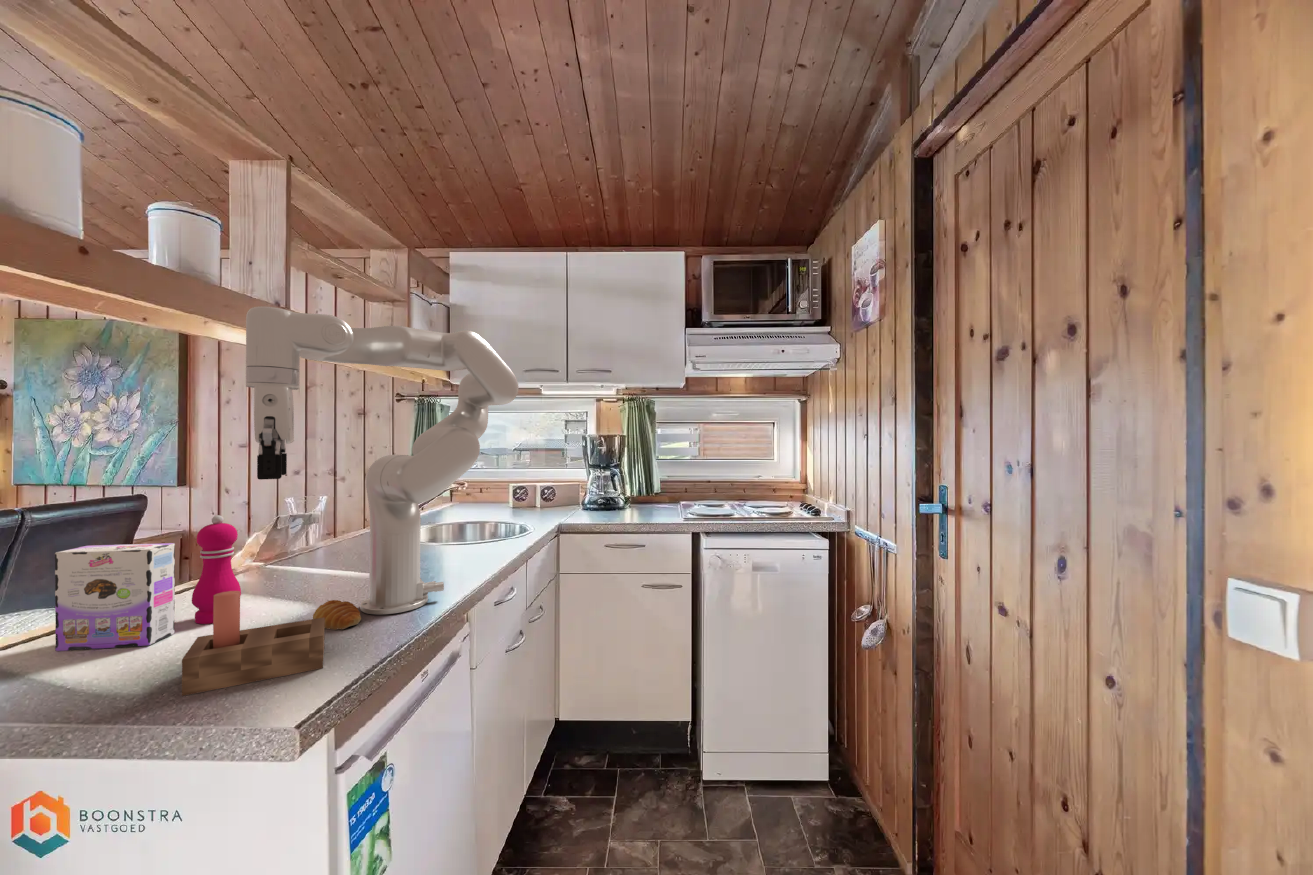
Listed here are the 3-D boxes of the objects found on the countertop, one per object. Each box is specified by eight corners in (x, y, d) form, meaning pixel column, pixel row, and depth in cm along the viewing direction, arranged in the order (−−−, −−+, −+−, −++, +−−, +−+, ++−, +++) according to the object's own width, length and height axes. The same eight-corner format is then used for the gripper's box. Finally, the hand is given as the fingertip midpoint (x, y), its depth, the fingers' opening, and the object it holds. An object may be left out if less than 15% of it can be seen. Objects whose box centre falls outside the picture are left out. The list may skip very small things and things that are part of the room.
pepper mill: (250, 612, 100) (251, 512, 100) (215, 626, 93) (216, 518, 93) (217, 611, 101) (218, 512, 101) (180, 624, 94) (181, 517, 94)
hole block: (324, 647, 84) (324, 617, 84) (322, 668, 77) (323, 635, 77) (197, 669, 76) (197, 636, 76) (181, 696, 68) (182, 659, 68)
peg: (241, 655, 76) (241, 589, 76) (237, 662, 74) (238, 594, 74) (215, 659, 75) (215, 592, 75) (210, 667, 72) (211, 598, 72)
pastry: (371, 623, 96) (371, 603, 96) (333, 635, 90) (333, 614, 90) (345, 614, 101) (345, 595, 101) (307, 625, 95) (307, 604, 95)
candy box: (176, 633, 90) (177, 541, 90) (148, 647, 84) (149, 548, 84) (86, 637, 87) (87, 543, 88) (51, 652, 82) (52, 551, 82)
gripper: (296, 376, 83) (295, 479, 83) (302, 385, 97) (301, 473, 97) (237, 373, 79) (236, 481, 79) (253, 382, 93) (252, 474, 93)
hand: (272, 476), depth 88 cm, fingers open, 9 cm apart
